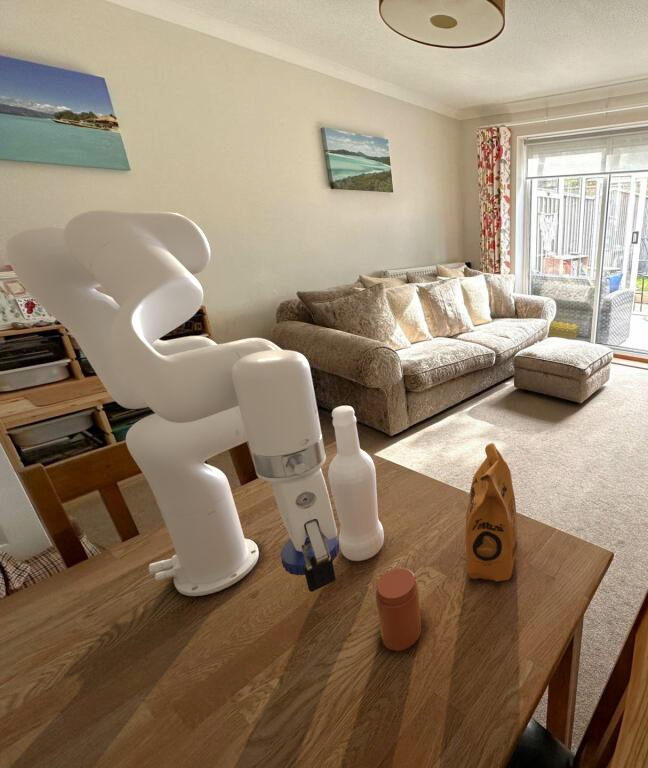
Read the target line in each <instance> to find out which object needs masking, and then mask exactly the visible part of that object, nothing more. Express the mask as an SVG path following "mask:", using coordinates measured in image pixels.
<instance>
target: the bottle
mask: <svg viewBox="0 0 648 768" xmlns="http://www.w3.org/2000/svg"><path fill="white" fill-rule="evenodd" d="M331 417H332V422H331V423H332V426H333V427H334V436H335V443H336V451H337V453H336V454H335V456H333V458H332V460H331V461H330V463H329V467H328V470H327V474H328V475H327V477H328V483H329V487H330V490H331V494H332V498H333V502H334V506H335V511H336V514H337V519H338V523H339V526H340V527H339V528H340V530H339V534H338V541H339V550H340V552H341V554H342V556H343V557H345V558H346V559H347V560H349V561H353V562H359V561H360V562H361V561H366V560H369V559H371V558H373V557H374V556H376V555H377V554H378V553H379V552H380V551H381V549H382V548H383V545H384V539H385V533H384V527H383V525H382V523H381V521H380V520H379V515H378V514H379V513H378V512H379V511H378V493H377V475H376V472H377V471H376V466H375V463H374V460H373V459H372V457H371V456H370V455H369V454H368V453H367V452H366V451H365V450H363V449H361V447H360V440H359V433H358V428H357V421H358V420H357V417H356V416H355V409H354V408H353V407H352V406H350V405H340V406H336V407H335V408H333V410H332V412H331Z"/></svg>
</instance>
